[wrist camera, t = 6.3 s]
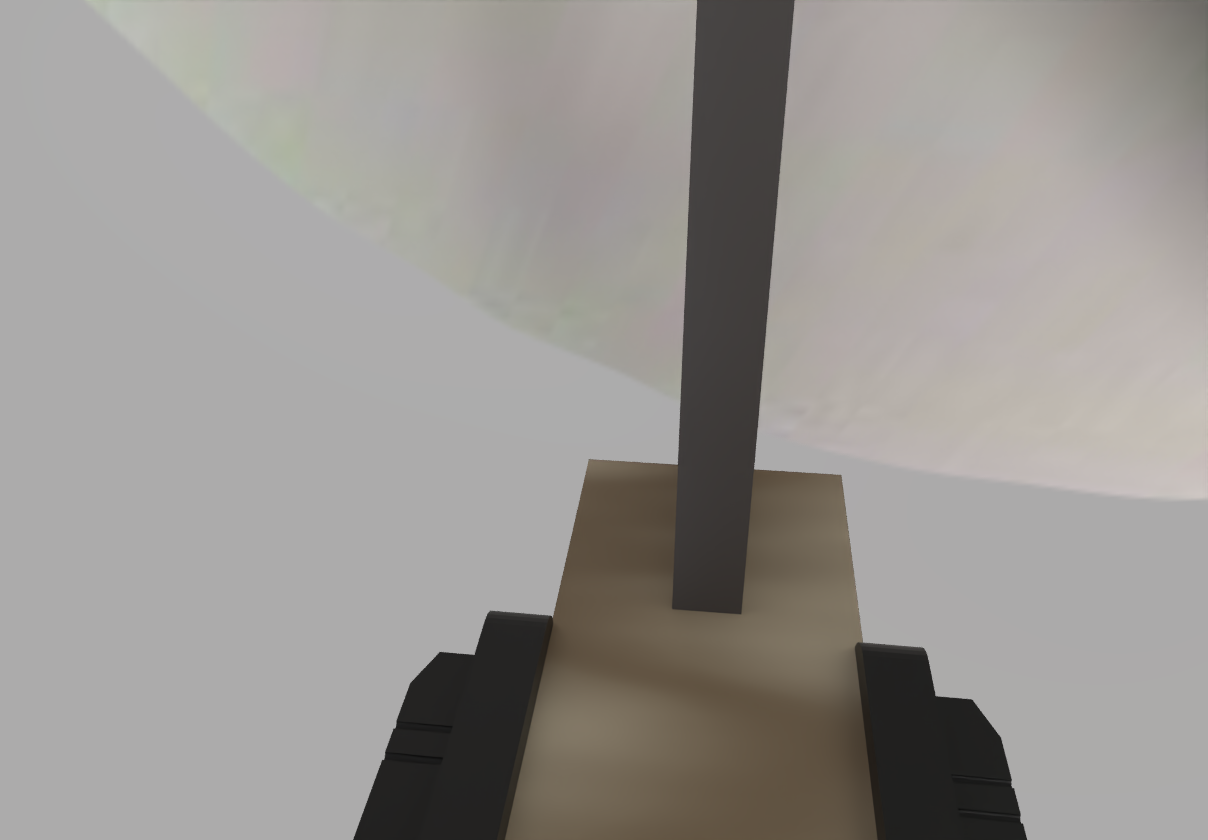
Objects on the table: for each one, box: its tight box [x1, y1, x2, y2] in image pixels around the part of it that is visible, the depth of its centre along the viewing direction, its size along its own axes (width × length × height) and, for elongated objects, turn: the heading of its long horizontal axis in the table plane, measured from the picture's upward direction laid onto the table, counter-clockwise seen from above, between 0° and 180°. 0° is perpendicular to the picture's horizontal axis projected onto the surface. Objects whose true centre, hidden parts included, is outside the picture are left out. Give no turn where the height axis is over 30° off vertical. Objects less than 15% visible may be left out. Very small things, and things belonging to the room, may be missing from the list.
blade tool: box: [505, 0, 878, 840], centre depth 9 cm, size 4×15×9 cm, turn 0°
